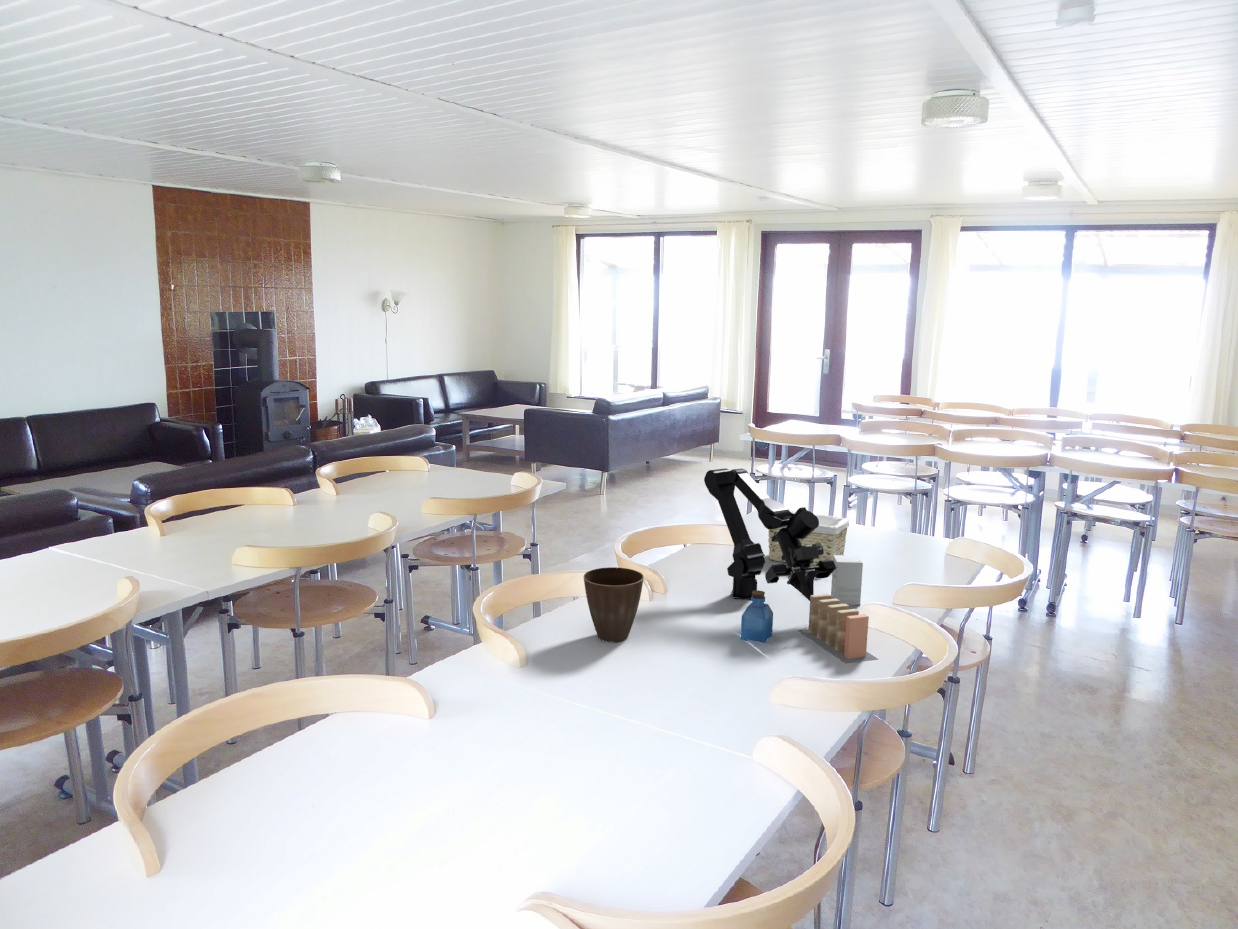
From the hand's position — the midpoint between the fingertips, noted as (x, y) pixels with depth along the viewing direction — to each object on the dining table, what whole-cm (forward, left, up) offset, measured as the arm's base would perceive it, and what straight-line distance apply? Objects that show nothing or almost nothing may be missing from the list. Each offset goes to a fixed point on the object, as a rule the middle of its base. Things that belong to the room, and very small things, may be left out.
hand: (811, 600), depth 219 cm
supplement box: (+13, +24, -8) cm, 29 cm away
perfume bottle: (-14, -9, -8) cm, 19 cm away
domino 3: (+5, -11, -7) cm, 14 cm away
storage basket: (+6, +65, -8) cm, 66 cm away
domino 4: (+7, -15, -7) cm, 18 cm away
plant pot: (-50, -14, -8) cm, 53 cm away
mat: (+5, -11, -8) cm, 14 cm away
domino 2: (+3, -7, -7) cm, 11 cm away
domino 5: (+8, -18, -7) cm, 21 cm away
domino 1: (+2, -4, -7) cm, 8 cm away
